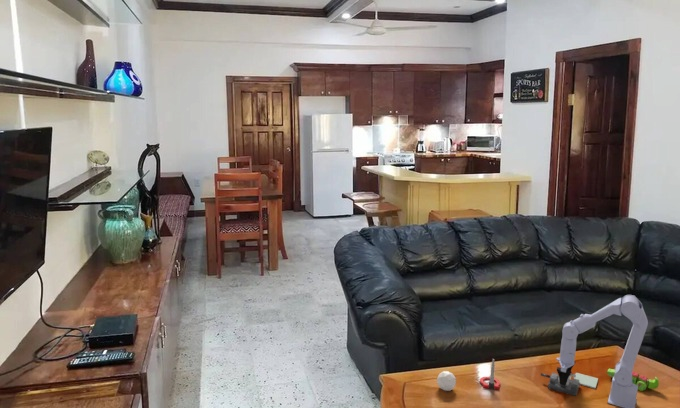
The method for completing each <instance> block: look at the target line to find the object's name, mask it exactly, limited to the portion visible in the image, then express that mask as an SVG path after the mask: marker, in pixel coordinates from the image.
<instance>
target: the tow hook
mask: <svg viewBox="0 0 680 408" xmlns="http://www.w3.org/2000/svg"><path fill="white" fill-rule="evenodd" d="M495 366H496V364H495V359H494V358H492V361H491V369H490V376H483V377H480V379H479V383H480V384H481V385H482V387H483V388H484V389H489V390H500V389H501V388H500V387H501V382H500V380H498V379H497V378H495V377H494V374H495ZM485 381H488V383H486V382H485Z"/></svg>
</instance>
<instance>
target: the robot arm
mask: <svg viewBox="0 0 680 408" xmlns="http://www.w3.org/2000/svg"><path fill="white" fill-rule="evenodd" d="M612 315H616V316H620V317H621V316H622V315H623V316H625V318H627V319H629V321H631V323H632V327H631V330H630V333H629V336H628V337H627V338H628V339H627V341H626V343H625V344H626V345H625V346H624V349H623V352H622V353H623V354H622V356H621V357H620V360H619V362H617V363H616V364H615V366H614V369H615V375H614V377H611V378H612V380H611V387H610V392H609V396H608V400H607V404H610V405H613V406H616V407H620V408H636V404H637V401H638V398H637V396H638V391H639V390H638V386H637V385H636V384H633V382H632V372H634V367H635V362H636V360H637V357H638V354H639V351H640V348H641V346H642V343H643V340H644V338H645V333H646V331H647V328H648V325H649V320H648V317H647V315H646V312H645V310H644V306H643V303H642V302H641V301H640V300H639V298H637V297H636V296H635V295H632V294H626V295H624V296H623V297H619V298H617V299H615V300H614V301H612V302H610V303H608V304H607V305H605V306H603V307H602V308H600V309H598V310H597V311H595V312H594V313H592V314H588V313H585V314H583V313H581V314H580V315H579V317H578V318H576V319H575V318H574V320H572V319H571V320H570V321H568V322H565V323H564V324H563V328H562V330H561V333H562V338H561V342H560V351H559V357H556V360H555V361H557V362H559V364H560V366H557V367H556V372H557V374H558V376H559V381H560V384H561V385H564V386H565V385H566V383H567V380H568V377H569V375H570V374H571V373H572V369H573V367H574V366H575V364H576V361H575V358H576V349H577V342H578V341H577V338H578V335H579V334H583V333H585V332H586V331H588V330H590V329H593V328H594V327H595V326H596V323H597V322H599V321H601V320H604V319H606V318H608V317H611V316H612ZM572 374H573V373H572Z"/></svg>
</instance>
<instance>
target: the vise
mask: <svg viewBox="0 0 680 408" xmlns="http://www.w3.org/2000/svg"><path fill="white" fill-rule="evenodd" d="M540 376H542V377H545V378H547V379H549V381H548V384H547V389H549V390H553V391H557V392H560V393H563V394H567V395H569V396H570V395H571V396H574V397H577V395H578V391H579V390H580V389H579V388H580V386H581V385H580V382H579V380H578V379H574V377H572V379H571V381H570V385H569V387H568V386H564V385H561V384H558V379H559V375H558V373H556V372H551V375H550V374H546V373H543V372H542V373H540Z"/></svg>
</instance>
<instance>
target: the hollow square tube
mask: <svg viewBox="0 0 680 408" xmlns="http://www.w3.org/2000/svg"><path fill="white" fill-rule="evenodd" d="M574 377H575V378H576V373H571V374H570V375H569V377H568V380H567V383H566V385H565V386H568V387H569V385H570V381H571V380H572V378H574ZM558 384H560V381H559V379H558Z"/></svg>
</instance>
